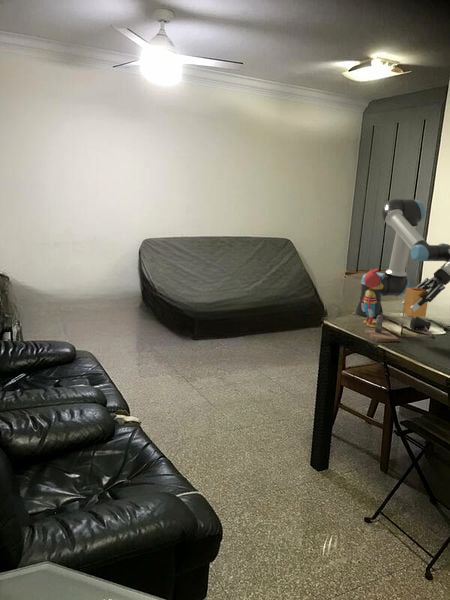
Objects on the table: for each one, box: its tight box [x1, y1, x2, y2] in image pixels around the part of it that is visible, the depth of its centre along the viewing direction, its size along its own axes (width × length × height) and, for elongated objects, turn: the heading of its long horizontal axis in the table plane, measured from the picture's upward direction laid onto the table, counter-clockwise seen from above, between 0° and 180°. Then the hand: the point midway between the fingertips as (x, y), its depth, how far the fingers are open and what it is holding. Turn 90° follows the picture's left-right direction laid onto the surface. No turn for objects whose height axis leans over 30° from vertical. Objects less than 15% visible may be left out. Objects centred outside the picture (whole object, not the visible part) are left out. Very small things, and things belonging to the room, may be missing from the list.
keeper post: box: [362, 315, 400, 343], centre depth 233 cm, size 16×11×10 cm
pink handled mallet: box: [409, 317, 434, 339], centre depth 244 cm, size 8×18×8 cm
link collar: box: [402, 287, 429, 318], centre depth 225 cm, size 7×7×12 cm
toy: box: [361, 268, 383, 329], centre depth 250 cm, size 15×10×30 cm
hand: (408, 307), depth 225 cm, fingers closed on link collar, 7 cm apart
